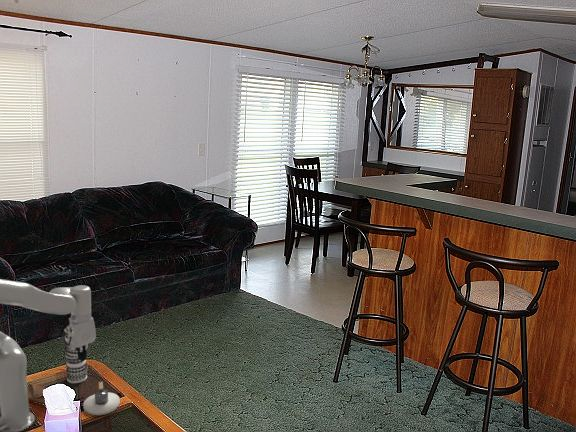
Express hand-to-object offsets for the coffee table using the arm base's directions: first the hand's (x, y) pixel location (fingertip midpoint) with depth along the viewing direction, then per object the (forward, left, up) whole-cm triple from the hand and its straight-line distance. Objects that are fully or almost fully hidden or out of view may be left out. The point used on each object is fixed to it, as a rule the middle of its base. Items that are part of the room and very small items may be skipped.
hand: (82, 359), depth 220 cm
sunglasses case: (-6, +17, -20) cm, 27 cm away
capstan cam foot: (+2, -7, -17) cm, 19 cm away
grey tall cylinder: (+12, +15, -19) cm, 27 cm away
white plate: (+1, -8, -19) cm, 21 cm away
